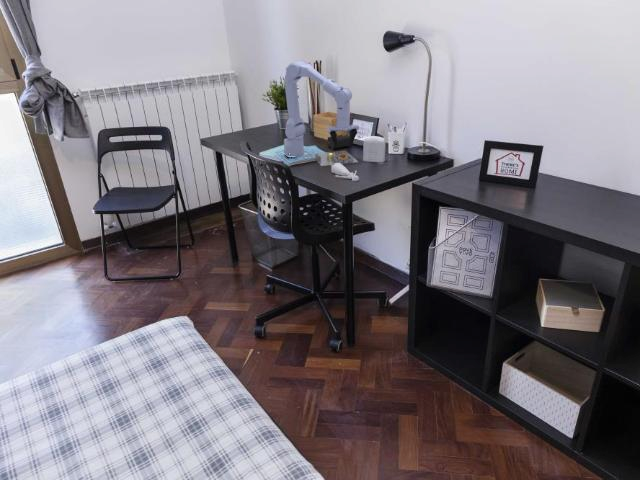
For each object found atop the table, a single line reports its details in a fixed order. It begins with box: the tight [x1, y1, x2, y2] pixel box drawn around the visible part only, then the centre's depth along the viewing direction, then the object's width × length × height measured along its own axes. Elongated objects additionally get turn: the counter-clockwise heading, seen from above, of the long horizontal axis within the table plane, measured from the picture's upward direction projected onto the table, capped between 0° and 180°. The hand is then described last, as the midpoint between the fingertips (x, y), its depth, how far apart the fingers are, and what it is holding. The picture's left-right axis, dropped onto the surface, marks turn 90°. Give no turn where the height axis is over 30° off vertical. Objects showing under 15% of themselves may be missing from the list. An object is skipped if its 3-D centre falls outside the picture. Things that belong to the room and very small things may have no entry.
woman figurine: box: [330, 163, 360, 182], centre depth 208 cm, size 12×4×18 cm
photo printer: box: [362, 135, 386, 165], centre depth 222 cm, size 10×4×12 cm, turn 73°
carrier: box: [310, 150, 359, 167], centre depth 229 cm, size 18×20×4 cm
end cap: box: [327, 134, 351, 150], centre depth 245 cm, size 10×7×7 cm
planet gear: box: [338, 150, 348, 160], centre depth 225 cm, size 5×5×4 cm
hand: (343, 146), depth 223 cm, fingers open, 7 cm apart
